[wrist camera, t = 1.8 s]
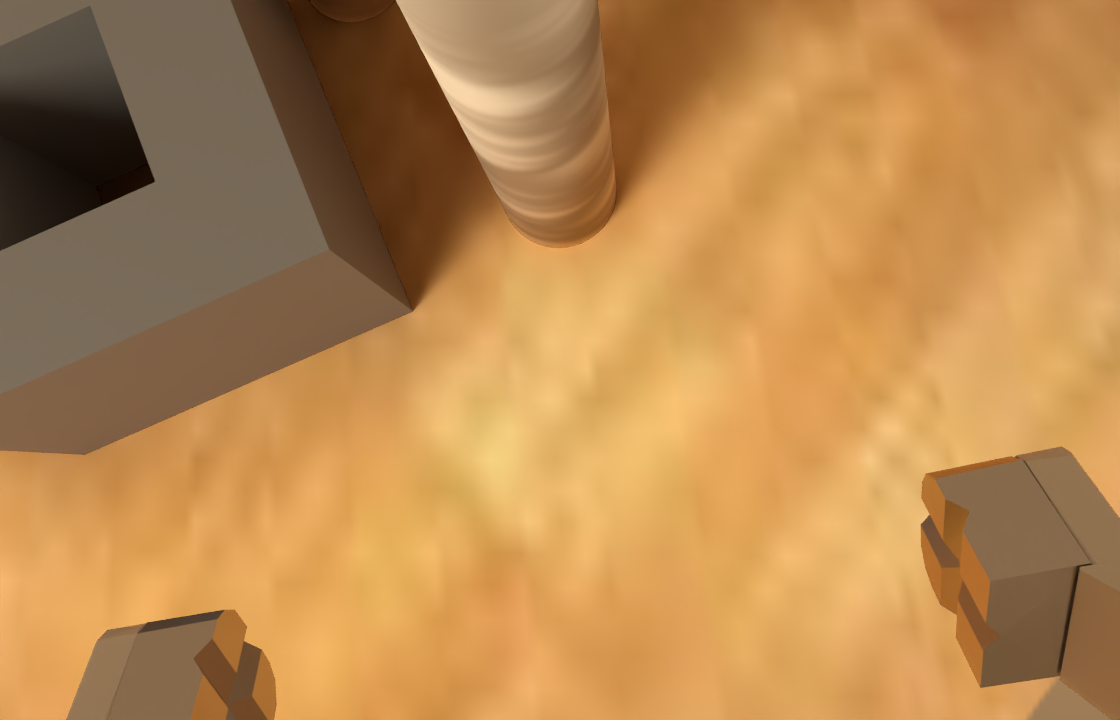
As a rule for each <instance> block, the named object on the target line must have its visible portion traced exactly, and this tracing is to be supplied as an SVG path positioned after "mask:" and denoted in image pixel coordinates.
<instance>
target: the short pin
mask: <svg viewBox="0 0 1120 720" xmlns="http://www.w3.org/2000/svg"><path fill="white" fill-rule="evenodd" d="M309 1H310V3H311V4H312V5H313V6H314V7H315V8H316V9H317V10H318V11H319V12H320V13H322V14H323V15H325V16H327V17H329V18H331V19H334V20H337V21H342V22H359V21H364V20H368V19H370V18H373V17H375V16H377V15H379V14H381V13H382V12H384V11H385V10H386V9H388V8H389V7H390V6H391V5H392V4H393V3H394V2H395V0H309Z"/></svg>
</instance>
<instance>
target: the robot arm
mask: <svg viewBox="0 0 1120 720" xmlns="http://www.w3.org/2000/svg"><path fill="white" fill-rule="evenodd" d="M922 500H923V502H924V504H925V506H926V508H927V510H928V512H929V514H930V515H929V516H928V517H927V518H926V519H925V521H924V522H923V523H922V524H921V548H922V553H923V558H924V563H925V568H926V571H927V574H928V577H929V580H930V582H931V585H932V588H933V590H934V592H935V594H936V596H937V599H938V601H939V603H940V605H942V606H943V607H945V608H946V609H948V610H950V611H951V612H953V613H954V614H956V615H957V624H956V639H957V641H958V643H959V645H960V647H961V649H962V651H963V653H964V655H965V657H966V659H967V661H968V663H969V665H970V668H971V670H972V672H973V674H974V676H975V678H976V680H977V682H978V684H979V686H980V688H982V687H989V686H996V685H1003V684H1009V683H1016V682H1023V681H1029V680H1036V679H1043V678H1049V677H1056V676H1060V681H1062V682H1063V683H1064V684H1066V685H1067V686H1068V687H1069V688H1071V689H1072V690H1073V691H1075V692H1076V693H1077V694H1079V695H1080V696H1081V697H1083V698H1084V699H1085V700H1086V701H1088V702H1089V703H1090V704H1092V705H1093V706H1094V707H1096V708H1097V709H1098V710H1100V711H1101V712H1102V713H1103V714H1105V715H1106V716H1107V717H1109V718H1110V719H1111V720H1120V518H1119V517H1118V515H1117V514H1116V513H1115V511H1114V510H1113V508H1112V507H1111V506H1110V504H1109V503H1108V502H1107V500H1106V499H1105V498H1104V496H1103V495H1102V494H1101V492H1100V491H1099V490H1098V488H1097V487H1096V485H1095V484H1094V483H1093V481H1092V480H1091V479H1090V477H1089V476H1088V475H1087V473H1086V472H1085V471H1084V469H1083V468H1082V466H1081V465H1080V464H1079V462H1078V461H1077V460H1076V458H1075V457H1074V456H1073V454H1072V453H1071V452H1070V451H1068V450H1067V449H1065V448H1063V447H1057V448H1052V449H1047V450H1042V451H1037V452H1032V453H1027V454H1022V455H1017V456H1015V457H1011V456H1010V457H1005V458H1000V459H995V460H990V461H985V462H981V463H976V464H971V465H966V466H961V467H956V468H951V469H946V470H941V471H937V472H932V473H927V474H925V477H924V479H923V481H922ZM246 629H247V626H246V625H245V623H244V622H243V620H242V619H241V618H240V616H239V615H238V613H237V612H236V611H235V610H221V611H215V612H209V613H203V614H197V615H191V616H185V617H179V618H173V619H166V620H160V621H154V622H148V623H146V624H140V625H134V626H128V627H122V628H116V629H111V630H107V631H106V632H105V633H104V634H103V635H102V636H101V637H100V638H99V639H98V640H97V642H96V644H95V646H94V649H93V652H92V654H91V657H90V659H89V662H88V665H87V667H86V670H85V672H84V675H83V677H82V680H81V683H80V685H79V688H78V690H77V693H76V696H75V698H74V701H73V703H72V706H71V709H70V711H69V714H68V716H67V719H66V720H274V717H275V711H276V705H277V703H276V686H275V678H274V674H273V671H272V668H271V665H270V662H269V661H268V659H267V657H266V656H265V654H264V652H263V651H262V649H259V648H257V647H255V646H253V645H251V644H249V643H247V642H245V641H244V638H245V633H246Z"/></svg>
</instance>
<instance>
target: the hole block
mask: <svg viewBox="0 0 1120 720" xmlns="http://www.w3.org/2000/svg"><path fill="white" fill-rule="evenodd" d="M148 163H149V166H150V169H151V172H152V174H153V177H154V180H155V182H154V183H152V184H149V185H147V186H145V187H143V188H140V189H138V190H136V191H134V192H131V193H129V194H127V195H125V196H122V197H120V198H118V199H116V200H113V201H111V202H109V203H107V204H105V205H102V202H101V199H100V196H99V194H98V191H97V188H96V186H98V185H101V184H103V183H105V182H107V181H110V180H112V179H114V178H116V177H119V176H121V175H123V174H125V173H128V172H130V171H132V170H134V169H137V168H139V167H141V166H143V165H145V164H148ZM412 311H413V310H412V308H411V305H410V303H409V300H408V298H407V296H406V293H405V291H404V288H403V286H402V283H401V281H400V278H399V276H398V273H397V271H396V268H395V266H394V263H393V261H392V259H391V256H390V254H389V251H388V249H387V246H386V244H385V241H384V239H383V236H382V234H381V231H380V229H379V227H378V224H377V222H376V219H375V217H374V214H373V212H372V209H371V207H370V204H369V202H368V199H367V197H366V195H365V192H364V190H363V187H362V185H361V182H360V180H359V177H358V175H357V172H356V170H355V167H354V165H353V162H352V160H351V158H350V155H349V153H348V150H347V148H346V145H345V143H344V140H343V138H342V135H341V133H340V130H339V128H338V126H337V123H336V121H335V118H334V116H333V113H332V111H331V108H330V106H329V103H328V101H327V98H326V96H325V93H324V91H323V89H322V86H321V84H320V81H319V79H318V76H317V74H316V71H315V69H314V66H313V64H312V61H311V59H310V57H309V54H308V52H307V49H306V47H305V44H304V42H303V39H302V37H301V34H300V32H299V29H298V27H297V24H296V22H295V20H294V17H293V15H292V12H291V10H290V7H289V5H288V2H287V0H0V450H3V451H23V452H42V453H62V454H81V455H85V454H87V453H90V452H92V451H94V450H97V449H99V448H101V447H103V446H106V445H108V444H110V443H113V442H115V441H117V440H119V439H122V438H124V437H126V436H129V435H131V434H133V433H135V432H138V431H140V430H142V429H145V428H147V427H149V426H151V425H154V424H156V423H158V422H161V421H163V420H165V419H167V418H170V417H172V416H174V415H177V414H179V413H181V412H184V411H186V410H188V409H190V408H193V407H195V406H197V405H200V404H202V403H204V402H206V401H209V400H211V399H213V398H216V397H218V396H220V395H222V394H225V393H227V392H229V391H232V390H234V389H236V388H238V387H241V386H243V385H245V384H248V383H250V382H252V381H254V380H257V379H259V378H261V377H264V376H266V375H268V374H270V373H273V372H275V371H277V370H280V369H282V368H284V367H287V366H289V365H291V364H293V363H296V362H298V361H300V360H303V359H305V358H307V357H309V356H312V355H314V354H316V353H319V352H321V351H323V350H325V349H328V348H330V347H332V346H335V345H337V344H339V343H341V342H344V341H346V340H348V339H351V338H353V337H355V336H357V335H360V334H362V333H364V332H367V331H369V330H371V329H373V328H376V327H378V326H380V325H383V324H385V323H387V322H389V321H392V320H394V319H396V318H399V317H401V316H403V315H406V314H408V313H410V312H412Z"/></svg>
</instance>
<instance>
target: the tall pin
mask: <svg viewBox="0 0 1120 720" xmlns="http://www.w3.org/2000/svg"><path fill="white" fill-rule="evenodd" d="M396 2H397V4H398V5H399V7H400V9H401V11H402V13H403V15H404V17H405V19H406V21H407V23H408V25H409V27H410V29H411V30H412V32H413V34H414V36H415V38H416V40H417V42H418V44H419V46H420V48H421V50H422V52H423V54H424V56H425V57H426V59H427V61H428V63H429V65H430V67H431V69H432V71H433V73H434V75H435V77H436V79H437V81H438V83H439V84H440V86H441V88H442V90H443V92H444V94H445V96H446V98H447V100H448V102H449V104H450V106H451V108H452V109H453V111H454V113H455V115H456V117H457V119H458V121H459V123H460V125H461V127H462V129H463V131H464V133H465V135H466V136H467V138H468V140H469V142H470V144H471V146H472V148H473V150H474V152H475V154H476V156H477V158H478V160H479V162H480V163H481V165H482V167H483V169H484V171H485V173H486V175H487V177H488V179H489V181H490V183H491V185H492V187H493V189H494V190H495V192H496V194H497V196H498V198H499V200H500V202H501V204H502V206H503V208H504V210H505V212H506V214H507V215H508V217H509V219H510V221H511V223H512V224H513V226H514V227H515V228H516V229H517V230H518V232H519V233H521V234H522V235H523V236H524V237H525V238H527V239H529V240H530V241H532V242H534V243H536V244H539V245H542V246H545V247H551V248H565V247H571V246H575V245H578V244H581V243H583V242H585V241H587V240H589V239H590V238H592V237H593V236H595V235H596V234H597V233H598V232H599V231H600V230H601V229H602V228H603V227H604V226H605V224H606V223H607V221H608V220H609V218H610V216H611V214H612V212H613V209H614V206H615V202H616V194H617V188H616V177H615V168H614V158H613V148H612V138H611V128H610V118H609V108H608V98H607V89H606V79H605V69H604V59H603V49H602V39H601V29H600V19H599V10H598V0H396Z"/></svg>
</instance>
